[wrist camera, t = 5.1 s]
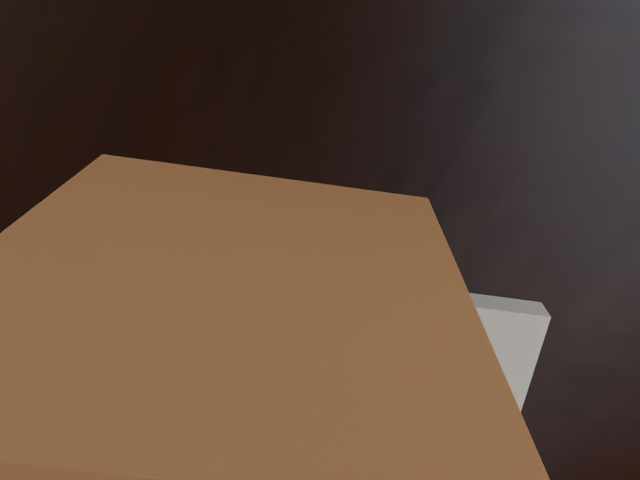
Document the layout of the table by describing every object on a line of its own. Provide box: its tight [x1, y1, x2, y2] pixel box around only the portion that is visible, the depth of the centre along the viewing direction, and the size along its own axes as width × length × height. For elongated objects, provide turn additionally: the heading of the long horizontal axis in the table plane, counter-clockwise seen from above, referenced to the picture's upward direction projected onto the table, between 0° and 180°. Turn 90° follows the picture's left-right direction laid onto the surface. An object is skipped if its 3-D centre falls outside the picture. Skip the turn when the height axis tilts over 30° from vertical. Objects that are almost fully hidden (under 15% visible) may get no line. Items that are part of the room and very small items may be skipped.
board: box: [469, 293, 551, 412], centre depth 32 cm, size 14×24×2 cm, turn 82°
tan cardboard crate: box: [0, 154, 550, 480], centre depth 9 cm, size 6×6×8 cm
